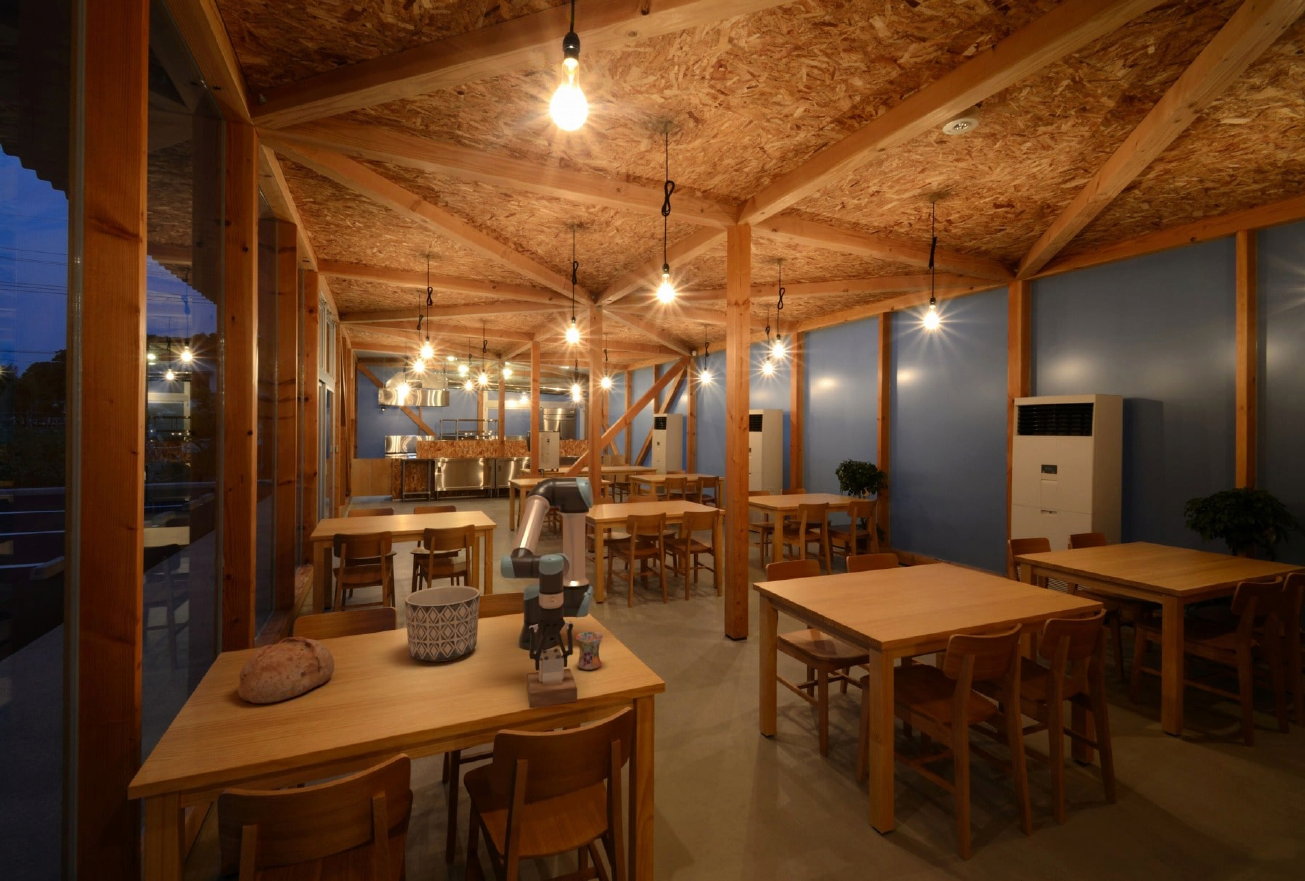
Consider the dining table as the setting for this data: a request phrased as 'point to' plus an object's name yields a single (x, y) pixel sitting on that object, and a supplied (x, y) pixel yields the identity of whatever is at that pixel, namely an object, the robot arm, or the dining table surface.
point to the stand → (551, 690)
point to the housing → (551, 667)
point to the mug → (589, 650)
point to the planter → (442, 622)
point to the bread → (285, 670)
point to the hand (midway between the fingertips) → (551, 678)
